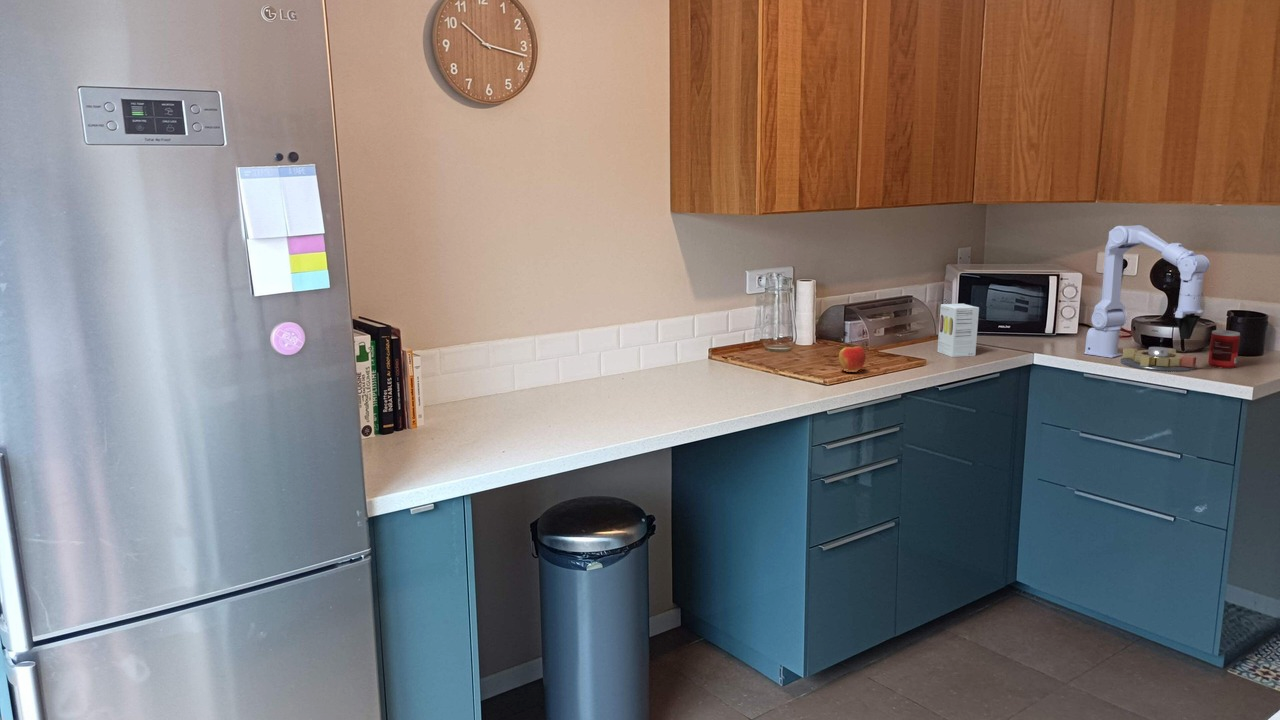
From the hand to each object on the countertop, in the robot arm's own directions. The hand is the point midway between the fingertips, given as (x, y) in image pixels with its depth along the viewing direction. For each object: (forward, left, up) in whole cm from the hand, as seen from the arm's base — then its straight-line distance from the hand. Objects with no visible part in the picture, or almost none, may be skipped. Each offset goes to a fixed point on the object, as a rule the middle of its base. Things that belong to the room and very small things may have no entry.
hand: (1185, 338), depth 280 cm
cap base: (-9, +6, -10) cm, 15 cm away
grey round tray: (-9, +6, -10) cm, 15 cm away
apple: (-66, -78, -11) cm, 103 cm away
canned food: (+5, +19, -11) cm, 22 cm away
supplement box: (-61, -27, -11) cm, 68 cm away
